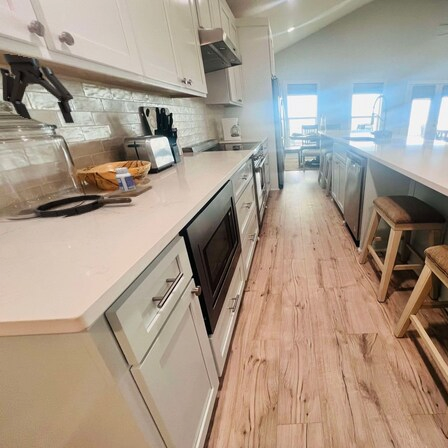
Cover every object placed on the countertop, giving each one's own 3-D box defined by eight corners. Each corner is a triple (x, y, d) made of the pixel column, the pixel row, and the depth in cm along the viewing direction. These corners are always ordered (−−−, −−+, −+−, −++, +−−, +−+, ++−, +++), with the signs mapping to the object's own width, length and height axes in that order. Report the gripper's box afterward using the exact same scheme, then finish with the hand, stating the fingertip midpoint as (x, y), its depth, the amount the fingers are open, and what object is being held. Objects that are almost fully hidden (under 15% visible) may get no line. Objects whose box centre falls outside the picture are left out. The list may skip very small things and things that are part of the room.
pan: (22, 220, 73) (17, 211, 72) (68, 202, 88) (65, 195, 87) (117, 214, 74) (113, 206, 72) (146, 198, 89) (144, 190, 88)
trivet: (104, 198, 92) (103, 195, 91) (123, 189, 103) (122, 187, 102) (136, 196, 92) (135, 193, 92) (152, 188, 103) (151, 185, 103)
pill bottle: (137, 187, 100) (130, 166, 97) (135, 190, 96) (127, 168, 92) (122, 189, 98) (114, 168, 95) (119, 192, 94) (111, 170, 90)
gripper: (69, 51, 78) (94, 122, 86) (-11, 54, 77) (23, 125, 86) (48, 44, 71) (78, 122, 80) (-40, 47, 70) (0, 126, 79)
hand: (49, 124), depth 83 cm, fingers open, 13 cm apart
